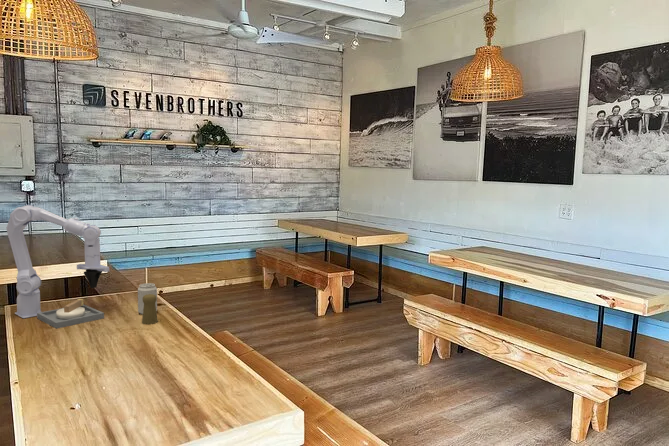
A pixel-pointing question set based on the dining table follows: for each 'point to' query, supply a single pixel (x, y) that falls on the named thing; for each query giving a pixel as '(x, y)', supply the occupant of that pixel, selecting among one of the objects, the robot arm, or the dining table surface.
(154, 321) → the cork
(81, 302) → the dial
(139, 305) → the can
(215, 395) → the dining table surface
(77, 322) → the slate tray
